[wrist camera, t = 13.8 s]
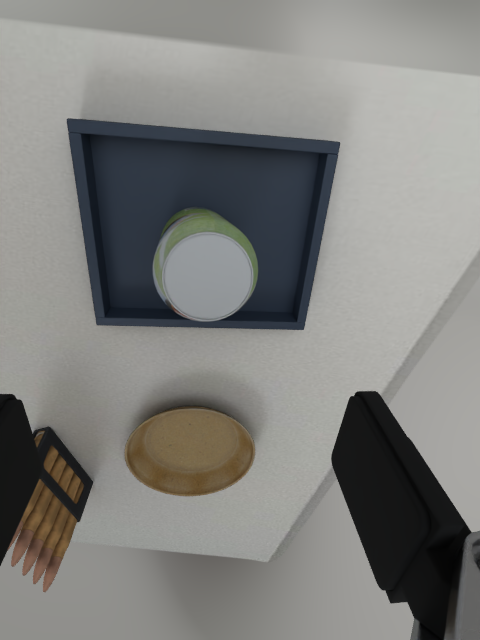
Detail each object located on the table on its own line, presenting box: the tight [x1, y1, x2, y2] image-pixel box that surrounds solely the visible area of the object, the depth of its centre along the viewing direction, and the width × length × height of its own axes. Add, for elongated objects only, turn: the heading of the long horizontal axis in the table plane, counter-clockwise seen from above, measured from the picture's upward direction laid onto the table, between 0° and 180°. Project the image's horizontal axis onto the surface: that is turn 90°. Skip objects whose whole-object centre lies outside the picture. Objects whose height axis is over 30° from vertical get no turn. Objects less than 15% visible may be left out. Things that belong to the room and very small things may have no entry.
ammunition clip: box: [7, 427, 93, 592], centre depth 36 cm, size 11×2×12 cm, turn 15°
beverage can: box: [153, 207, 258, 322], centre depth 24 cm, size 6×7×12 cm
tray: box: [67, 119, 340, 330], centre depth 28 cm, size 16×19×3 cm
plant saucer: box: [125, 406, 255, 496], centre depth 40 cm, size 15×15×3 cm
